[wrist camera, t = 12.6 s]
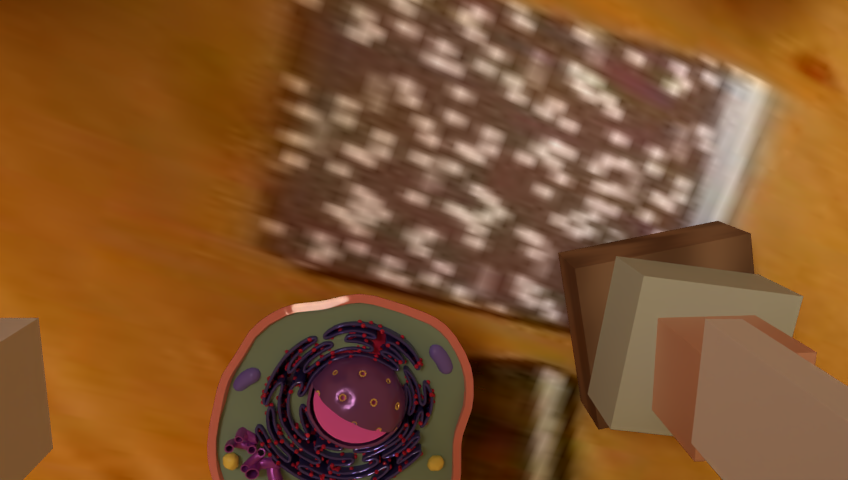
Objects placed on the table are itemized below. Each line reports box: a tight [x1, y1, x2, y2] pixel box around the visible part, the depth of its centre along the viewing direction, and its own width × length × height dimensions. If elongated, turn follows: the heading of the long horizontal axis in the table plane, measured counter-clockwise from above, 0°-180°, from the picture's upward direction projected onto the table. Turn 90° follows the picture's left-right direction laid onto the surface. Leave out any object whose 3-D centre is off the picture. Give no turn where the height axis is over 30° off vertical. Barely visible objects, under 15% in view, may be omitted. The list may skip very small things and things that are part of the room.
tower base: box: [558, 221, 754, 429], centre depth 48 cm, size 12×12×5 cm
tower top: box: [588, 256, 803, 436], centre depth 43 cm, size 10×10×5 cm
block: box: [652, 315, 817, 461], centre depth 38 cm, size 6×6×6 cm
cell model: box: [207, 294, 474, 480], centre depth 45 cm, size 17×20×11 cm
